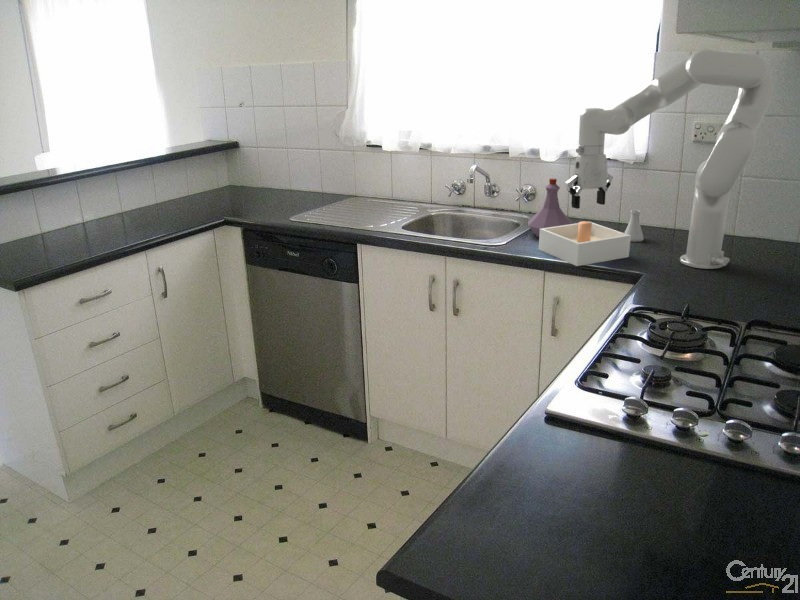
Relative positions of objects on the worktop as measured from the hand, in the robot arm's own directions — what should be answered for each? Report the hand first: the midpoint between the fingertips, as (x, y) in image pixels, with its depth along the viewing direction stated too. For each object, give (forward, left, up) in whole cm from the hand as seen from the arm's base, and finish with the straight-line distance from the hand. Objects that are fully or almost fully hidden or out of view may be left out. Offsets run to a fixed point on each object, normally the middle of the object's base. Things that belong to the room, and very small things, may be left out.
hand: (588, 205), depth 212 cm
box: (0, 0, -16) cm, 16 cm away
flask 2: (+5, -25, -16) cm, 30 cm away
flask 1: (+22, -3, -16) cm, 28 cm away
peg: (0, 0, -16) cm, 16 cm away
